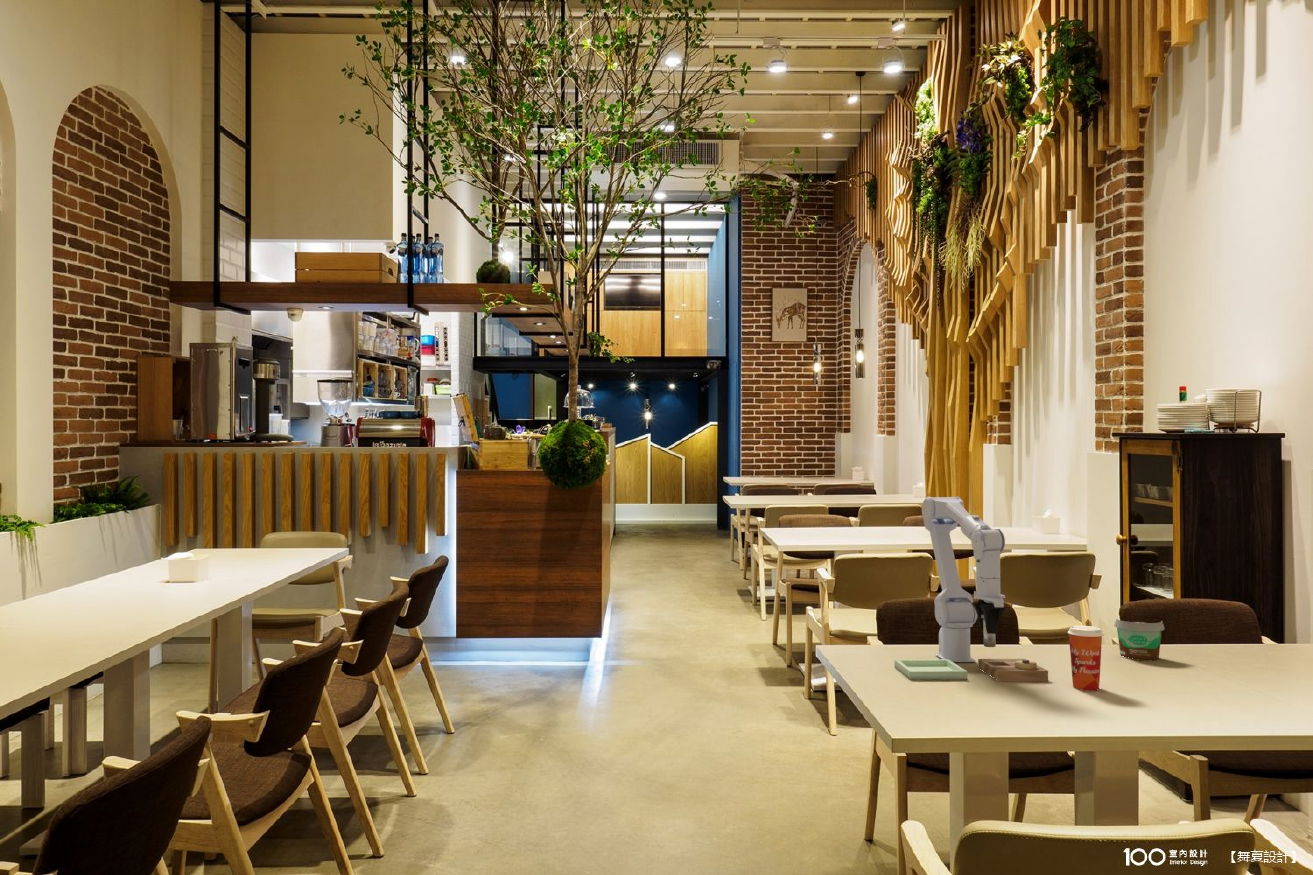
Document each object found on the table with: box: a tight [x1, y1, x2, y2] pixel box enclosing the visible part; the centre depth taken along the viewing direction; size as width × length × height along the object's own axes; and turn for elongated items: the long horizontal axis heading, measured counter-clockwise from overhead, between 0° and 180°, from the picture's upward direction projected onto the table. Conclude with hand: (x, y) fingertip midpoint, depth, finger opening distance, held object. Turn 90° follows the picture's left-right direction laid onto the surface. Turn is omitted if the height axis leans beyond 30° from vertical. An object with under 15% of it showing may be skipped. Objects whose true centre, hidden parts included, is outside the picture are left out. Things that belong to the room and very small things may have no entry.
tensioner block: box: [977, 658, 1049, 682], centre depth 240 cm, size 14×12×4 cm
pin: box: [981, 614, 997, 648], centre depth 241 cm, size 4×4×8 cm
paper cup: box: [1067, 625, 1105, 691], centre depth 226 cm, size 8×8×14 cm
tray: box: [894, 658, 968, 681], centre depth 241 cm, size 14×14×2 cm
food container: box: [1113, 618, 1165, 661], centre depth 259 cm, size 12×6×10 cm, turn 73°
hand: (988, 632), depth 241 cm, fingers closed on pin, 3 cm apart
